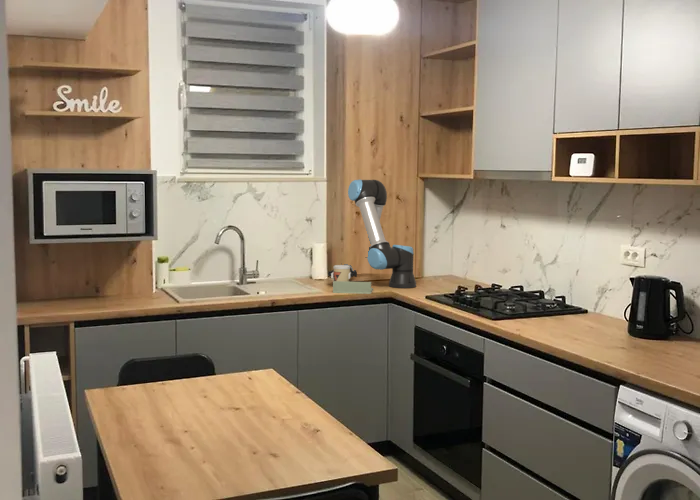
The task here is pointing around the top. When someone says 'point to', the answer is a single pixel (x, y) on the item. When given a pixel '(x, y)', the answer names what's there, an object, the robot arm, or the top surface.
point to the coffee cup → (341, 272)
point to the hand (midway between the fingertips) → (340, 275)
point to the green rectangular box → (352, 287)
